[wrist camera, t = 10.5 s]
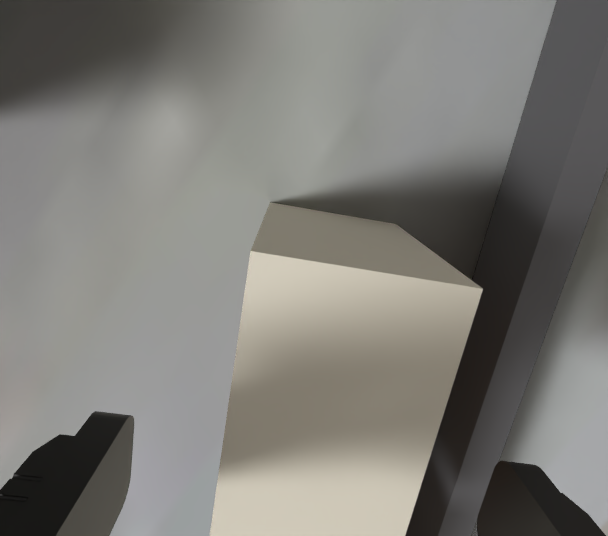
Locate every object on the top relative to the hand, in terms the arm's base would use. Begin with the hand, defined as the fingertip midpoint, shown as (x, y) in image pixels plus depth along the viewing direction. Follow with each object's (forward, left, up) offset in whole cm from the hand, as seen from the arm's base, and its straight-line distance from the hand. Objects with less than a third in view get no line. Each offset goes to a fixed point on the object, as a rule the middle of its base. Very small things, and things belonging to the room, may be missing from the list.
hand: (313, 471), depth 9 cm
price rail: (0, -6, -7) cm, 9 cm away
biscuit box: (0, 0, -7) cm, 7 cm away
